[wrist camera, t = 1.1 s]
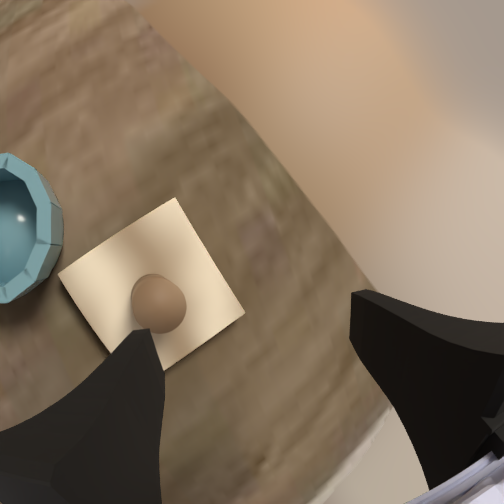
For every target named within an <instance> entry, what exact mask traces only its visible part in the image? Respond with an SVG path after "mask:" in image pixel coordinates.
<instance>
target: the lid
mask: <svg viewBox="0 0 504 504" xmlns="http://www.w3.org/2000/svg"><path fill="white" fill-rule="evenodd" d="M58 276H59V277H60V279H61V281H62V282H63V284H64V286H65V287H66V289H67V291H68V292H69V294H70V295H71V297H72V299H73V300H74V302H75V303H76V305H77V306H78V308H79V309H80V311H81V312H82V314H83V315H84V317H85V318H86V320H87V321H88V323H89V324H90V325H91V327H92V328H93V330H94V331H95V332H96V334H97V335H98V337H99V338H100V339H101V341H102V342H103V343H104V345H105V346H106V347H107V349H108V350H109V351H110V353H112V352H113V351H114V350H115V349H116V347H117V346H118V345H119V344H120V343H121V342H122V341H123V340H124V339H125V338H126V337H127V336H128V335H129V334H130V333H131V332H132V331H133V330H139V329H147V328H150V332H151V335H152V338H153V341H154V344H155V347H156V350H157V353H158V356H159V359H160V362H161V365H162V367H163V370H166V369H167V368H169V367H170V366H172V365H173V364H175V363H176V362H177V361H179V360H180V359H182V358H183V357H185V356H186V355H187V354H189V353H190V352H192V351H193V350H195V349H196V348H197V347H199V346H200V345H202V344H203V343H204V342H206V341H207V340H209V339H210V338H211V337H213V336H214V335H216V334H217V333H218V332H220V331H221V330H222V329H224V328H225V327H227V326H228V325H229V324H231V323H232V322H233V321H235V320H236V319H238V318H239V317H240V316H242V315H243V314H244V313H245V311H244V310H243V308H242V307H241V305H240V303H239V302H238V300H237V299H236V297H235V295H234V294H233V292H232V291H231V289H230V288H229V286H228V284H227V283H226V281H225V280H224V278H223V276H222V275H221V273H220V271H219V270H218V268H217V267H216V265H215V263H214V262H213V260H212V258H211V257H210V255H209V254H208V252H207V250H206V249H205V247H204V245H203V244H202V242H201V240H200V239H199V237H198V235H197V234H196V232H195V230H194V229H193V227H192V225H191V224H190V222H189V220H188V219H187V217H186V215H185V214H184V212H183V210H182V209H181V207H180V205H179V203H178V202H177V200H176V198H173V199H171V200H170V201H168V202H166V203H165V204H163V205H161V206H160V207H158V208H156V209H155V210H153V211H151V212H150V213H148V214H147V215H145V216H143V217H142V218H140V219H139V220H137V221H135V222H134V223H132V224H131V225H129V226H127V227H126V228H124V229H123V230H121V231H120V232H118V233H117V234H115V235H114V236H112V237H111V238H109V239H107V240H106V241H104V242H103V243H101V244H100V245H98V246H97V247H96V248H94V249H93V250H91V251H90V252H88V253H87V254H85V255H84V256H82V257H81V258H80V259H78V260H77V261H75V262H74V263H72V264H71V265H70V266H68V267H67V268H65V269H64V270H63V271H61V272H60V273H58Z"/></svg>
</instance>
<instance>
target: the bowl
mask: <svg viewBox="0 0 504 504" xmlns="http://www.w3.org/2000/svg"><path fill="white" fill-rule="evenodd" d="M63 237H64V221H63V215H62V208H61V206H60V204H59V201H58V199H57V197H56V195H55V194H54V192H53V190H52V188H51V186H50V184H49V182H48V180H46V179H45V178H44V177H43V176H42V175H41V174H40V173H39V172H38V171H37V170H36V169H35V168H33V167H32V166H30V165H28V164H27V163H25V162H23V161H22V160H20V159H18V158H17V157H15V156H14V155H12V154H10V153H4V154H0V303H9V302H11V301H13V300H15V299H18V298H20V297H22V296H24V295H26V294H27V293H28V292H29V291H31V290H32V289H33V288H35V287H36V286H37V285H39V284H40V283H41V282H43V281H44V280H45V279H47V278H48V277H49V275H50V272H51V271H52V269H53V268H54V266H55V264H56V262H57V260H58V257H59V255H60V252H61V248H62V245H63Z"/></svg>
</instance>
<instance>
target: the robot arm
mask: <svg viewBox="0 0 504 504" xmlns="http://www.w3.org/2000/svg"><path fill="white" fill-rule="evenodd" d="M349 339H350V341H351V343H352V345H353V347H354V349H355V351H356V353H357V355H358V357H359V358H360V360H361V361H362V363H363V364H364V366H365V367H366V369H367V370H368V371H369V373H370V374H371V376H372V377H373V378H374V380H375V381H376V382H377V384H378V385H379V386H380V388H381V389H382V391H383V392H384V393H385V395H386V396H387V398H388V399H389V400H390V402H391V404H392V405H393V407H394V408H395V410H396V412H397V414H398V416H399V417H400V420H401V422H402V423H403V425H404V427H405V429H406V432H407V434H408V436H409V438H410V440H411V442H412V444H413V446H414V449H415V451H416V454H417V456H418V459H419V461H420V464H421V466H422V469H423V472H424V475H425V478H426V481H427V484H428V487H429V491H428V492H426V493H424V494H423V495H420V496H419V497H417V498H415V499H413V500H411V501H409V502H406V503H405V504H504V323H492V322H482V321H474V320H467V319H462V318H457V317H452V316H447V315H443V314H440V313H436V312H432V311H429V310H426V309H423V308H420V307H417V306H414V305H411V304H408V303H406V302H402V301H400V300H397V299H394V298H392V297H389V296H386V295H384V294H381V293H378V292H375V291H371V290H367V289H365V290H361V291H356V292H352V293H351V317H350V336H349ZM164 401H165V373H164V370H163V367H162V365H161V362H160V359H159V356H158V353H157V350H156V347H155V344H154V341H153V338H152V335H151V332H150V328H147V329H139V330H133V331H132V332H131V333H130V334H129V335H128V336H127V337H126V338H125V339H124V340H123V341H122V342H121V343H120V344H119V345H118V346H117V347H116V349H115V350H114V351H113V352H112V353H111V354H110V355H109V356H108V357H107V358H106V359H105V360H104V361H103V363H102V364H100V365H99V366H98V367H97V368H96V369H95V370H94V371H93V372H92V373H91V374H90V375H89V376H88V377H87V378H86V379H85V380H84V381H83V382H82V383H81V384H79V385H78V386H77V387H76V388H75V389H73V390H72V391H71V392H70V393H68V394H67V395H66V396H65V397H63V398H62V399H60V400H59V401H57V402H56V403H54V404H53V405H51V406H50V407H48V408H47V409H45V410H44V411H42V412H41V413H39V414H37V415H35V416H34V417H32V418H30V419H28V420H26V421H24V422H22V423H20V424H18V425H16V426H14V427H11V428H9V429H6V430H4V431H1V432H0V502H1V503H2V504H162V500H161V489H160V474H159V446H160V436H161V427H162V418H163V410H164Z"/></svg>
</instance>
